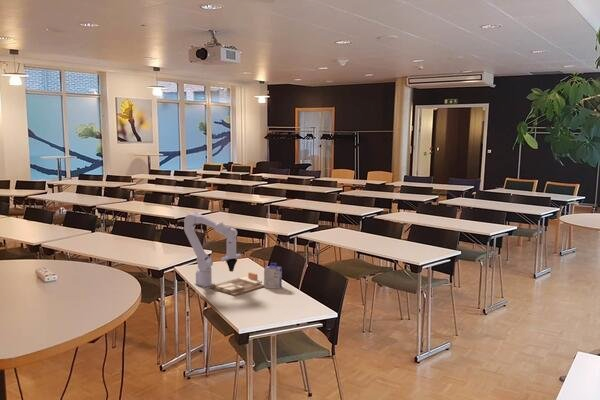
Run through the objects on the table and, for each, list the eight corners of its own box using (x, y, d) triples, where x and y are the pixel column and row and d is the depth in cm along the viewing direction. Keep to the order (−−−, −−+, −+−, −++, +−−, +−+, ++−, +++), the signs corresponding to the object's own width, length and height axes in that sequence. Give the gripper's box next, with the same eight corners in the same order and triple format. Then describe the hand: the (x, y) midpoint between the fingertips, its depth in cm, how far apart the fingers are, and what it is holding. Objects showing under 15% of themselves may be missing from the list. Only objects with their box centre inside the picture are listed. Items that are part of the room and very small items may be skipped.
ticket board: (209, 288, 292) (209, 284, 292) (238, 279, 311) (238, 275, 310) (235, 296, 278) (235, 292, 278) (264, 286, 297) (264, 282, 297)
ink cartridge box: (282, 286, 298) (282, 262, 297) (279, 289, 293) (280, 265, 291) (266, 285, 300) (266, 261, 298) (263, 287, 295) (263, 264, 293)
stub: (239, 280, 305) (239, 272, 305) (245, 278, 309) (245, 271, 309) (255, 285, 296) (255, 277, 296) (262, 283, 301) (262, 275, 300)
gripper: (226, 251, 285) (226, 274, 287) (244, 247, 296) (244, 269, 298) (218, 249, 290) (218, 272, 291) (236, 245, 301) (236, 267, 303)
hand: (231, 271), depth 295 cm, fingers closed
